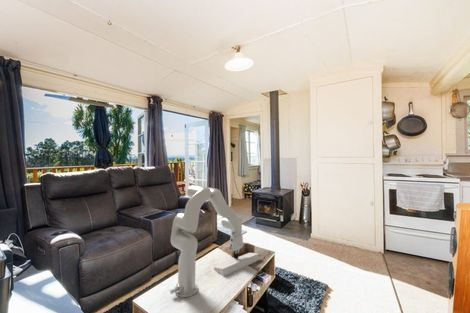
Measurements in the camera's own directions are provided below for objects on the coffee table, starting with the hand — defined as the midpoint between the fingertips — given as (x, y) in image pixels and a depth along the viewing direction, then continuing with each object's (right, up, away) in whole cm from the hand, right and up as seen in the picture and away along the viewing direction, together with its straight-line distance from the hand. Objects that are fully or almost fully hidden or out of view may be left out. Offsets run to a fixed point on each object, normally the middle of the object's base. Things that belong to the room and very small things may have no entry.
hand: (235, 258), depth 153 cm
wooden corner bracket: (+6, -3, +12) cm, 14 cm away
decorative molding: (+1, -4, -3) cm, 5 cm away
